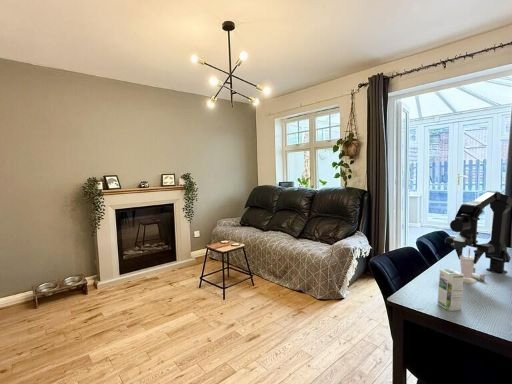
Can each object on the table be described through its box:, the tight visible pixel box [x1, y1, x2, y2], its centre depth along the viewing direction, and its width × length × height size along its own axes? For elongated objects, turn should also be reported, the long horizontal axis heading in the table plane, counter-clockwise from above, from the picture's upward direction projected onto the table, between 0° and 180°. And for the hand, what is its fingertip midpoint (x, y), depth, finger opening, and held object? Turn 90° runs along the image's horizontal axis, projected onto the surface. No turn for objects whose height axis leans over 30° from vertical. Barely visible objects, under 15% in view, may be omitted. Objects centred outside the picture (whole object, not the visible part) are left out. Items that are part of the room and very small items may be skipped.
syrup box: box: [437, 268, 464, 312], centre depth 107 cm, size 6×6×14 cm
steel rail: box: [471, 267, 486, 283], centre depth 136 cm, size 7×9×3 cm
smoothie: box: [458, 248, 475, 278], centre depth 132 cm, size 6×6×14 cm
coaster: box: [463, 277, 478, 284], centre depth 133 cm, size 8×8×1 cm
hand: (467, 261), depth 132 cm, fingers closed on smoothie, 6 cm apart
